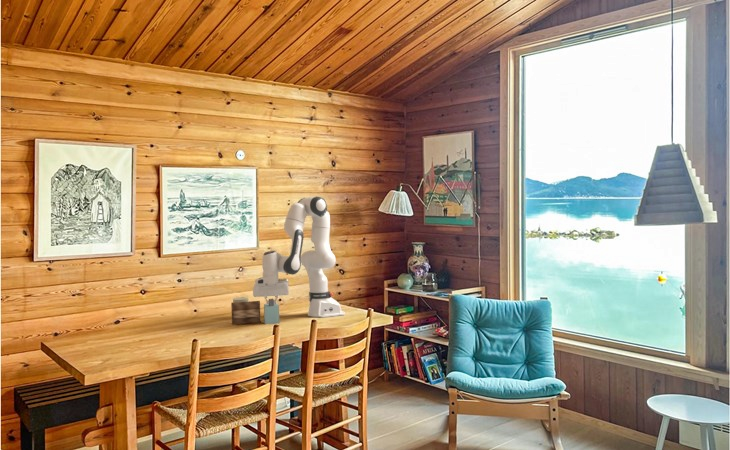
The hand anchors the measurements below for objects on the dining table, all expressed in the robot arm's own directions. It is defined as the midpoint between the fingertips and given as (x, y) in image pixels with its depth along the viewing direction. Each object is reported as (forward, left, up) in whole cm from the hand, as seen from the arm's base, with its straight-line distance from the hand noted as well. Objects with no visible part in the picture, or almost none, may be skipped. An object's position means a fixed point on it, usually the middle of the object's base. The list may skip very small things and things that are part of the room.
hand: (271, 303), depth 333 cm
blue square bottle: (0, -2, -11) cm, 11 cm away
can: (+16, -24, -11) cm, 31 cm away
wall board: (+14, -4, -11) cm, 18 cm away
